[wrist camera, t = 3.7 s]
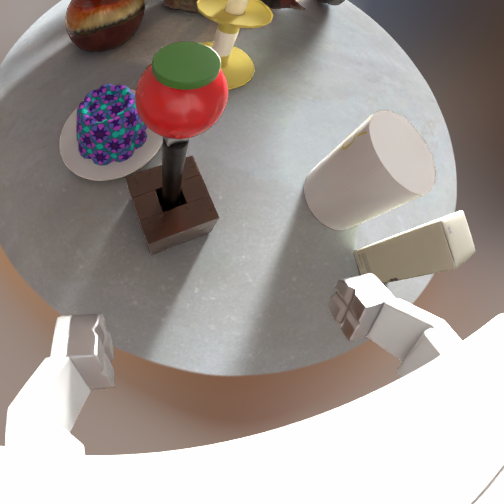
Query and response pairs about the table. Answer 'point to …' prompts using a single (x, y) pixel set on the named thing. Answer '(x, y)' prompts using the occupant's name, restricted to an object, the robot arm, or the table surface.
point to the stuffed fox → (283, 4)
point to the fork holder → (175, 220)
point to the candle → (234, 34)
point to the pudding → (107, 136)
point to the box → (419, 250)
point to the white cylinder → (370, 172)
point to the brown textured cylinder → (183, 5)
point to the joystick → (180, 105)
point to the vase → (103, 22)
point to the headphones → (332, 1)
